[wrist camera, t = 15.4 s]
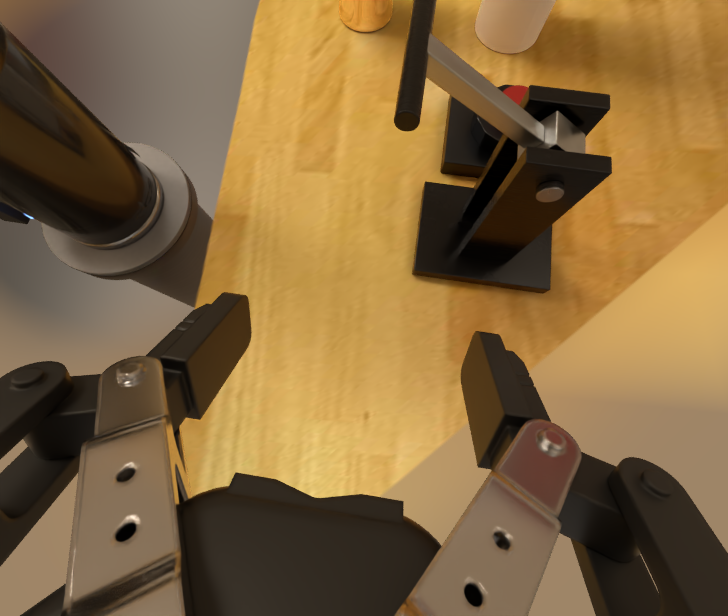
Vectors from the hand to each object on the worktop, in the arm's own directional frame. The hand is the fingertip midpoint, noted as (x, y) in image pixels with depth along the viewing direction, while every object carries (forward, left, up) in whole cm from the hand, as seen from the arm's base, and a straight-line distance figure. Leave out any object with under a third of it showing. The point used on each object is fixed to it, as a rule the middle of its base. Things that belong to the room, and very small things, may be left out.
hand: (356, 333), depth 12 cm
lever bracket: (+9, +13, -17) cm, 24 cm away
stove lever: (+5, +13, -4) cm, 14 cm away
